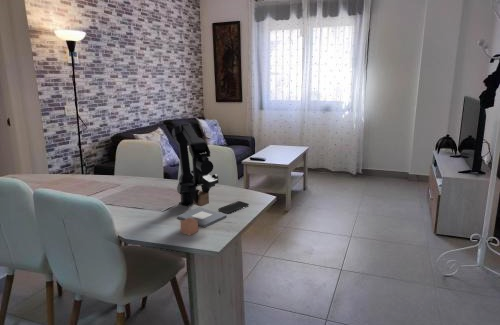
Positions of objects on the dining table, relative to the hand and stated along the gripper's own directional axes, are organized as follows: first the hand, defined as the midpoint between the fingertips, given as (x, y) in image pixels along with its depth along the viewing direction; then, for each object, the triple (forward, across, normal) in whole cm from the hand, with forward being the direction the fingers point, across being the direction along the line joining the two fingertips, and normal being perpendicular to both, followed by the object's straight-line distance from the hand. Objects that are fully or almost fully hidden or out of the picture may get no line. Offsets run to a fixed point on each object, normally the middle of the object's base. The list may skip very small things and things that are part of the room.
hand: (201, 201), depth 161 cm
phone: (+8, +18, -4) cm, 20 cm away
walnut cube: (+1, 0, 0) cm, 1 cm away
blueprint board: (+8, 0, 0) cm, 8 cm away
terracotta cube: (+8, -14, -7) cm, 18 cm away
